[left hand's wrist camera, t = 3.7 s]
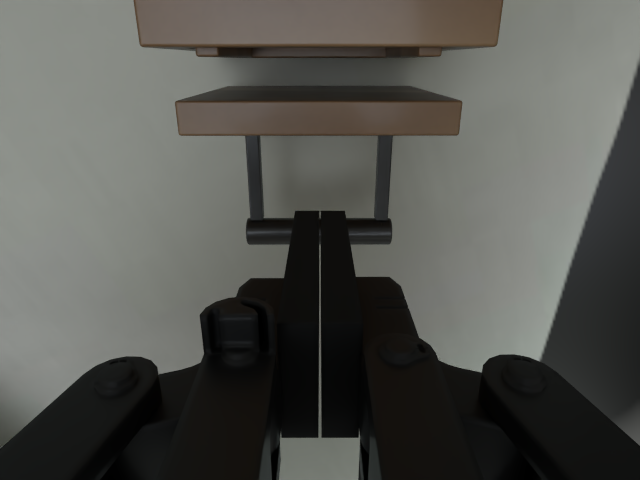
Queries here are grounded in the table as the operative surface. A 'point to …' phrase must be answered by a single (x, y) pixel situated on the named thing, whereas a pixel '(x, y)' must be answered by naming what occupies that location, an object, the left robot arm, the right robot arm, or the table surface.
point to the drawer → (318, 126)
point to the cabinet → (318, 23)
